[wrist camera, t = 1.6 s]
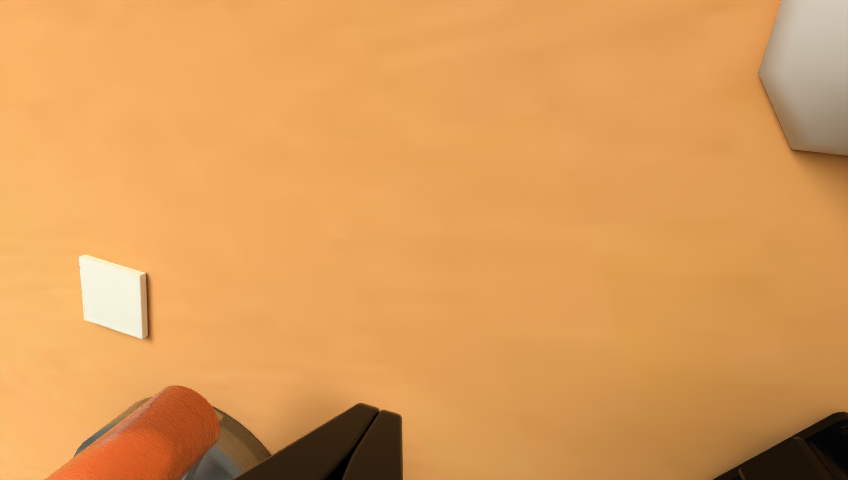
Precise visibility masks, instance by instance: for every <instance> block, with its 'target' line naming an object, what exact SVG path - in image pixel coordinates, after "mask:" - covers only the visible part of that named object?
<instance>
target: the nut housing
mask: <svg viewBox="0 0 848 480" xmlns="http://www.w3.org/2000/svg"><path fill="white" fill-rule="evenodd" d="M151 398H152V397H150V398H147V399H144V400H142V401H139V402H137V403H136V404H134V405H133V406H131V407H130V408H129V409H127V410H126V411H125V412H123V413H122V414H121V415H119V416H118V417H117V418H115V419H114V420H113V421H111V422H110V423H109V424H107V425H106V426H105V427H103V428H102V429H101V430H99V431H98V432H97V433H95V434H94V435H93V436H91V437H90V438H89V439H87V440H86V441H85V442H83V444H82V445H81V446H80V447H79V448H78V450H77V452H76V453H75V455H74V457H75V456H76V455H78V454H79V453H80V452H82V451H83V450H84V449H85V448H87V447H88V446H89V445H91V444H92V443H93V442H95V441H96V440H97V439H99V438H100V437H101V436H103V435H104V434H105V433H106V432H108V431H109V430H110V429H112V428H113V427H114V426H116V425H117V424H118V423H120V422H121V421H122V420H123V419H125V418H126V417H127V416H129V415H130V414H131V413H133V412H134V411H135V410H137V409H138V408H139V407H141V406H142V405H143V404H144V403H146V402H147V401H148V400H150V399H151ZM212 408H213V409H214V410H216V411H217V412H219V413H220V414H221V415H223V416H224V418H223V420H222V422H221V424H220V435H219V438H218V441H217V442H216V443H215V444H214V445H213V447H212V448H211V449H210V450H209V451H208V452H207V453H206V454H205V455H204V457H203V459H202V461H201V463H200V465H199V467H198V469H197V471H196V473H195V475H194V477H193V479H192V480H232V479H234V478H235V477H237V476H239V475H240V474H242V473H244V472H245V471H247V470H249V469H250V468H252V467H254V466H255V465H257V464H259V463H260V462H262V461H264V460H265V459H267V458H268V457H270V456H271V455H270V454H269V452H268V451H267V450H266V449H265V448H264V446H263V445H262V444H261V443H260V442H259V441H258V440H257V439H256V438H255V437H254V436H253V435H252V434H251V433H250V432H249V431H248V430H247V429H246V428H244V427H243V426H242V425H241V424H240V423H238V422H237V421H236V420H234V419H233V418H231V417H230V416H228V415H227V414H225V413H223V412H222V411H220V410H218V409H216V408H214V407H212ZM74 457H73V458H74Z"/></svg>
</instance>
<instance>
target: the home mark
mask: <svg viewBox="0 0 848 480" xmlns="http://www.w3.org/2000/svg"><path fill="white" fill-rule="evenodd" d="M79 264H80V275H81V286H82V298H83V309H84V320H87V321H90V322H93V323H96V324H99V325H102V326H105V327H108V328H111V329H114V330H117V331H120V332H123V333H126V334H129V335H132V336H134V337H137V338H140V339H143V338H145V337H147V336H148V321H147V292H146V273H144V272H141V271H138V270H134V269H131V268H128V267H125V266H121V265H118V264H115V263H112V262H108V261H105V260H102V259H99V258H95V257H92V256H89V255H83V256H80V257H79Z"/></svg>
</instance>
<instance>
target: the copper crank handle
mask: <svg viewBox="0 0 848 480" xmlns="http://www.w3.org/2000/svg"><path fill="white" fill-rule="evenodd" d="M223 418H224V416H223V415H221V414H220V413H219V412H217V411H216V410H214V409H213V408H212V406H211V405H210V404H209V403H208V401H207V400H206V399H205V398H204V397H202V396H201V395H200V394H198V393H197V392H195V391H193V390H191V389H189V388H187V387H183V386H169V387H166V388H164V389H163V390H161V391H160V392H159V393H158V394H156V395H155V396H154V397H152V398H151V399H150V400H148V401H147V402H146V403H144V404H143V405H142V406H141V407H139V408H138V409H137V410H135V411H134V412H133V413H131V414H130V415H129V416H127V417H126V418H125V419H123V420H122V421H121V422H120V423H118V424H117V425H116V426H114V427H113V428H112V429H110V430H109V431H108V432H106V433H105V434H104V435H103V436H101V437H100V438H99V439H97V440H96V441H95V442H93V443H92V444H91V445H89V446H88V447H87V448H85V449H84V450H83V451H82V452H80V453H79V454H78V455H76V456H75V457H74V458H72V459H71V460H70V461H68V462H67V463H66V464H64V465H63V466H62V467H61V468H59V469H58V470H57V471H55V472H54V473H53V474H51V475H50V476H49V477H47V478H46V479H45V480H192V479H193V477H194V475H195V473H196V471H197V469H198V467H199V465H200V463H201V461H202V459H203V457H204V455H205V454H206V453H207V452H208V451H209V450H210V449H211V448H212V447H213V445H214V444H215V443H216V442H217V441H218V438H219V435H220V424H221V422H222V420H223Z"/></svg>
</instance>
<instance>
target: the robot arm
mask: <svg viewBox="0 0 848 480" xmlns="http://www.w3.org/2000/svg"><path fill="white" fill-rule="evenodd" d="M846 424H848V413H846V412H837V413H835V414H832V415H830V416H828V417H826V418H825V419H823V420H821V421H819V422H817V423H815V424H814V425H812V426H810V427H808V428H806V429H805V430H803V431H801V432H799V433H797V434H795V435H794V436H792V437H790V438H788V439H786V440H784V441H783V442H781V443H779V444H777V445H775V446H773V447H772V448H770V449H768V450H766V451H764V452H763V453H761V454H759V455H757V456H755V457H753V458H752V459H750V460H748V461H746V462H744V463H742V464H741V465H739V466H737V467H735V468H733V469H731V470H730V471H728V472H726V473H724V474H722V475H721V476H719V477H717V478H715V479H713V480H848V426H847V427H846V428H840V427H841V426H843V425H846ZM232 480H403V455H402V417H401V415H399V414H397V413H393V412H390V411H387V410H381V411H380V410H379V409H378V408H377V407H374V406H370V405H367V404H364V403H359V404H356V405H355V406H353V407H351V408H350V409H348V410H346V411H345V412H343V413H341V414H340V415H338V416H336V417H335V418H333V419H331V420H330V421H328V422H326V423H325V424H323V425H321V426H320V427H318V428H316V429H315V430H313V431H312V432H310V433H308V434H307V435H305V436H303V437H302V438H300V439H298V440H297V441H295V442H293V443H292V444H290V445H288V446H287V447H285V448H283V449H282V450H280V451H278V452H277V453H275V454H273V455H272V456H270V457H268V458H267V459H265V460H264V461H262V462H260V463H259V464H257V465H255V466H254V467H252V468H250V469H249V470H247V471H245V472H244V473H242V474H240V475H239V476H237V477H235V478H234V479H232Z"/></svg>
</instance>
